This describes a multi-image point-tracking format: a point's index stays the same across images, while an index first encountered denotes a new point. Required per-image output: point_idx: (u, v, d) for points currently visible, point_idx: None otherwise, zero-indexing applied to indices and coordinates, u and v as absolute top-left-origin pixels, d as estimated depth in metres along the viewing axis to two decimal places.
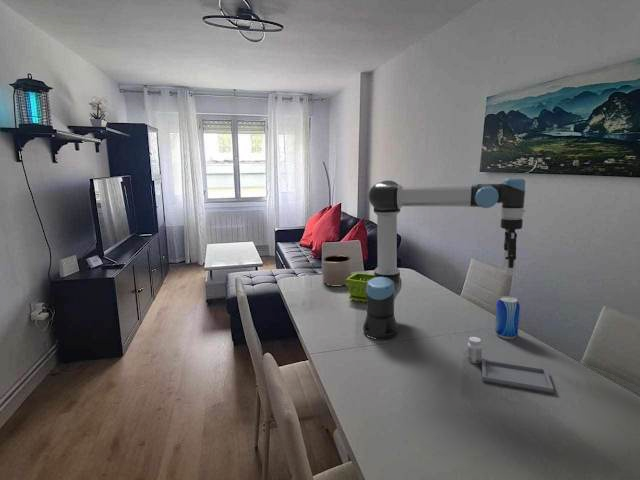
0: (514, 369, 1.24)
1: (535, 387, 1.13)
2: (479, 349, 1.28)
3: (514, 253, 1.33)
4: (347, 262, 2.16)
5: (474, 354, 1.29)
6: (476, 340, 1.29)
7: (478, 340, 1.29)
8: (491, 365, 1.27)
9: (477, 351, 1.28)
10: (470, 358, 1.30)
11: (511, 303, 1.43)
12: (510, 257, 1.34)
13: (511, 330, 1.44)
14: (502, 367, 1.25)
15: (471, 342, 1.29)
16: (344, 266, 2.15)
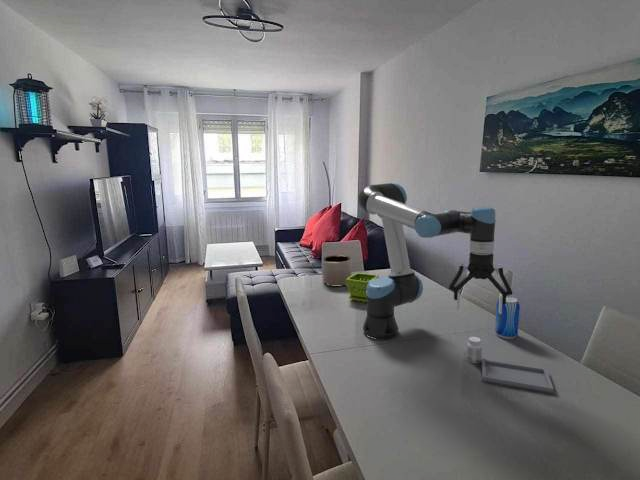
0: (514, 369, 1.24)
1: (535, 387, 1.13)
2: (479, 349, 1.28)
3: (451, 283, 1.28)
4: (347, 262, 2.16)
5: (474, 354, 1.29)
6: (476, 340, 1.29)
7: (478, 340, 1.29)
8: (491, 365, 1.27)
9: (477, 351, 1.28)
10: (470, 358, 1.30)
11: (511, 303, 1.43)
12: (449, 286, 1.30)
13: (511, 330, 1.44)
14: (502, 367, 1.25)
15: (471, 342, 1.29)
16: (344, 266, 2.15)
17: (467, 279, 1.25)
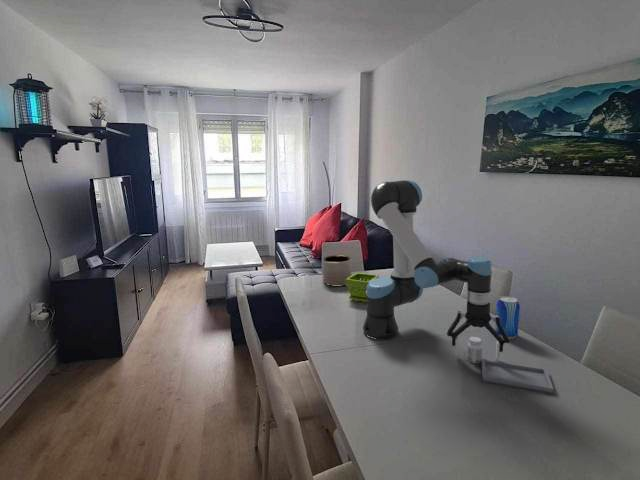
0: (514, 369, 1.24)
1: (535, 387, 1.13)
2: (479, 349, 1.28)
3: (449, 330, 1.32)
4: (347, 262, 2.16)
5: (474, 354, 1.29)
6: (476, 340, 1.29)
7: (478, 340, 1.29)
8: (491, 365, 1.27)
9: (477, 351, 1.28)
10: (470, 358, 1.30)
11: (511, 303, 1.43)
12: (447, 332, 1.33)
13: (511, 330, 1.44)
14: (502, 367, 1.25)
15: (471, 342, 1.29)
16: (344, 266, 2.15)
17: (465, 327, 1.29)
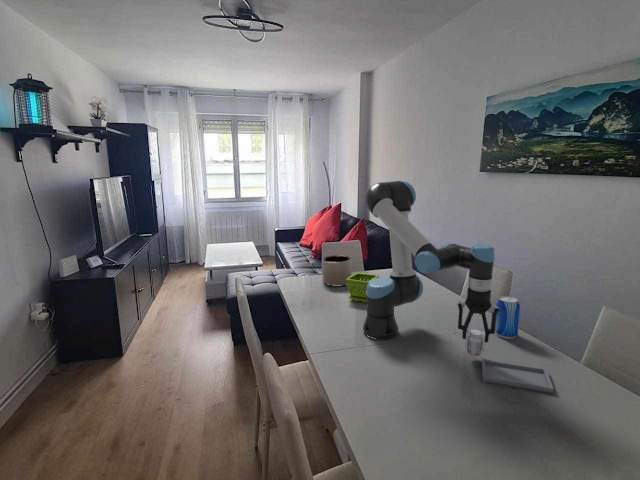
0: (514, 369, 1.24)
1: (535, 387, 1.13)
2: (479, 342, 1.28)
3: (458, 323, 1.30)
4: (347, 262, 2.16)
5: (474, 347, 1.29)
6: (477, 333, 1.28)
7: (479, 333, 1.28)
8: (491, 365, 1.27)
9: (477, 344, 1.28)
10: (469, 351, 1.30)
11: (511, 303, 1.43)
12: None
13: (511, 330, 1.44)
14: (502, 367, 1.25)
15: (471, 335, 1.29)
16: (344, 266, 2.15)
17: (469, 316, 1.28)
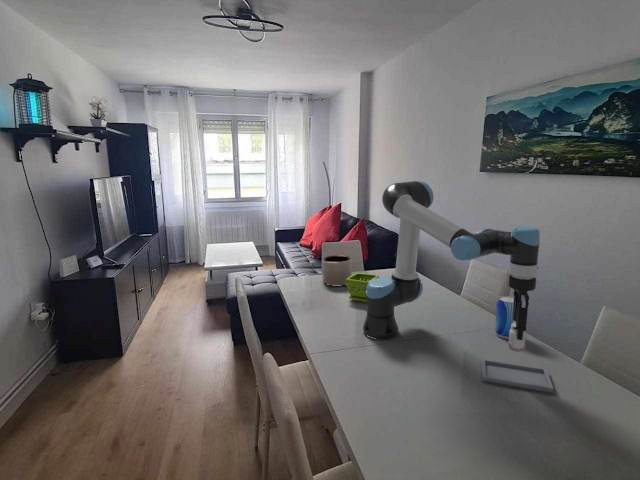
0: (514, 369, 1.24)
1: (535, 387, 1.13)
2: None
3: (524, 325, 1.10)
4: (347, 262, 2.16)
5: None
6: None
7: None
8: (491, 365, 1.27)
9: None
10: (523, 347, 1.16)
11: (511, 303, 1.43)
12: (519, 329, 1.11)
13: None
14: (502, 367, 1.25)
15: None
16: (344, 266, 2.15)
17: None
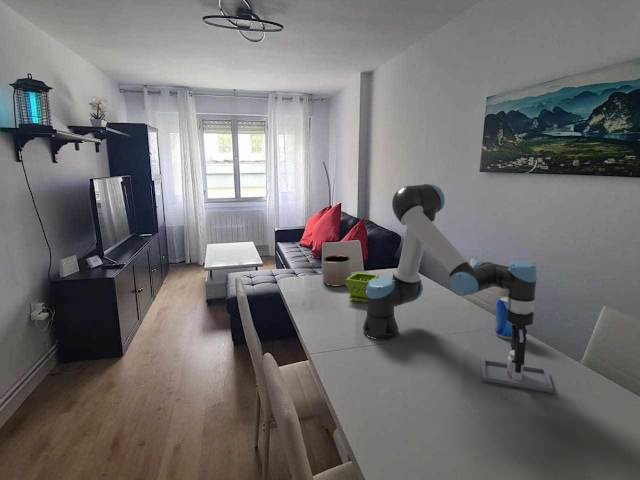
0: None
1: (535, 387, 1.13)
2: None
3: (522, 359, 1.12)
4: (347, 262, 2.16)
5: None
6: None
7: None
8: (491, 365, 1.27)
9: None
10: None
11: None
12: (517, 363, 1.13)
13: (511, 330, 1.44)
14: (502, 367, 1.25)
15: None
16: (344, 266, 2.15)
17: None
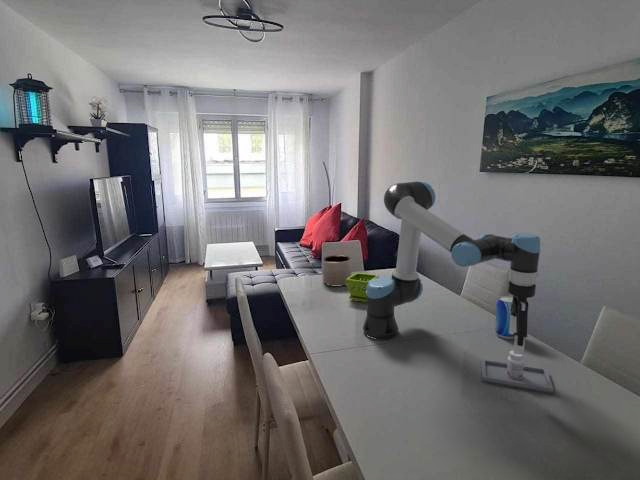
0: None
1: (535, 387, 1.13)
2: None
3: (525, 330, 1.07)
4: (347, 262, 2.16)
5: None
6: None
7: None
8: (491, 365, 1.27)
9: None
10: (521, 375, 1.18)
11: (511, 303, 1.43)
12: (520, 334, 1.08)
13: None
14: (502, 367, 1.25)
15: (521, 357, 1.17)
16: (344, 266, 2.15)
17: None
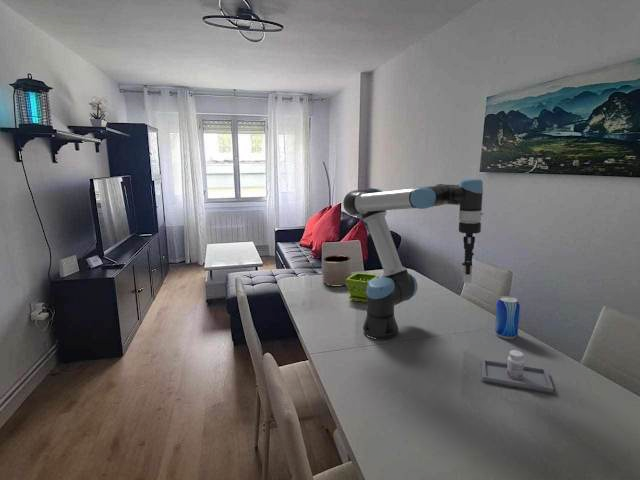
0: None
1: (535, 387, 1.13)
2: None
3: (470, 259, 1.25)
4: (347, 262, 2.16)
5: None
6: (519, 352, 1.18)
7: (518, 351, 1.19)
8: (491, 365, 1.27)
9: None
10: (521, 375, 1.18)
11: (511, 303, 1.43)
12: (466, 263, 1.25)
13: (511, 330, 1.44)
14: (502, 367, 1.25)
15: (521, 357, 1.17)
16: (344, 266, 2.15)
17: None
